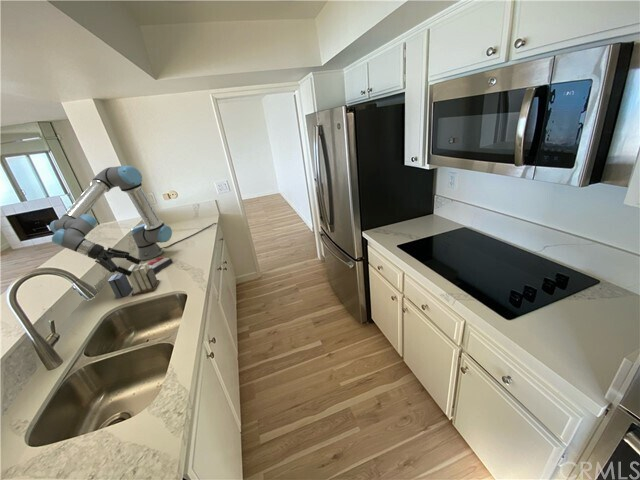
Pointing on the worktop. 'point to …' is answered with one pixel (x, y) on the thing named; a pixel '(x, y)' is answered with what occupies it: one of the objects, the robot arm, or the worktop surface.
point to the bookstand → (145, 279)
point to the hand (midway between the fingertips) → (135, 268)
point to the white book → (134, 279)
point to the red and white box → (159, 264)
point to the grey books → (120, 285)
